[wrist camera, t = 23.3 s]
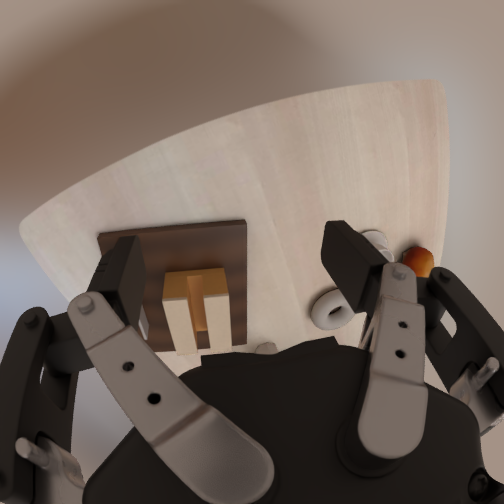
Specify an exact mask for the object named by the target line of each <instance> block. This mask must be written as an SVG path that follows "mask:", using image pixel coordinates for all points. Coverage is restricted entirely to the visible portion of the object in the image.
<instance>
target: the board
mask: <svg viewBox="0 0 504 504" xmlns="http://www.w3.org/2000/svg"><path fill="white" fill-rule="evenodd" d="M130 235H138V237H139V240H140V244H141V249H142V254H143V258H144V263H145V267H146V285H145V290H144V295H143V301H142V306H143V309H144V312H145V315H146V318H147V321H148V324H149V329H148V338H147V340H145V339H144V337H143V334H142V332H141V329H140V326H139V325H138V331H137V333H138V334H139V335H140V337H141V338H142V339H143V340H144V341H145V342H146V344H147V345H148V346H149V347H150V348H151V349H152V350H153V351H154V352H166V351H176V349H175V346H174V343H173V339H172V336H171V332H170V329H169V325H168V322H167V318H166V314H165V311H164V307H163V303H162V298H163V289H164V280H165V273H168V272H180V271H191V270H203V269H214V268H224V271H225V277H226V282H227V288H228V294H229V306H230V324H231V340H232V346H236V345H244V344H247V223H246V221H245V220H235V221H222V222H209V223H197V224H186V225H175V226H164V227H154V228H144V229H134V230H125V231H116V232H107V233H100V234H99V236H98V237H97V240H98V243H99V247H100V251H101V254H102V256H103V255H104V254H105V253H106V252H107V251H108V250H109V249H114V247H115V244H116V243H117V242H118V240H119V238H120V237H121V236H130ZM197 348H198V349H207V348H211V347H210V341H209V334H208V330H205V331H197Z"/></svg>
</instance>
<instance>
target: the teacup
mask: <svg viewBox="0 0 504 504" xmlns="http://www.w3.org/2000/svg"><path fill="white" fill-rule="evenodd" d="M362 235H364V236H365V237H366V238H367V239H368V240H369V241H370V243H372V244H373V245H374V246H375V248H377V249H378V250H379V251H380V252H381V254H382V255H383V256H384V257H385V258H386V259H387V260H388V261H389V262H394V256H393V253H392V252H391V251H390V250H388V243H387V239H386V237H385V236H384V235H383V234H382V233H380V232H378V231H368V232H365V233H362Z"/></svg>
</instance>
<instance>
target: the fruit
mask: <svg viewBox="0 0 504 504" xmlns="http://www.w3.org/2000/svg"><path fill="white" fill-rule="evenodd" d="M402 264H404V265H406V266H408V267H409V268H411V269H412V270H413V271H414V273H415V275H416V276H418V277H429V274H430V272H431V269H432V268H434V259H433V255H432V253H431V252H430V251H428V250H427V249H425V248H422V247H413V248H410V249H409V250H408V251H406V252H404V253H403V261H402Z"/></svg>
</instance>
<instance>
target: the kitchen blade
mask: <svg viewBox="0 0 504 504" xmlns="http://www.w3.org/2000/svg"><path fill="white" fill-rule="evenodd" d="M116 244H117V243H116ZM116 244H115V246H116ZM114 249H115V247H114ZM139 326H140V329H141V332H142V334H143V337H144V339H145V340H147V338H148V329H149V324H148V321H147V318H146V315H145V312H144V309H143V306H141V312H140V318H139Z"/></svg>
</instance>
